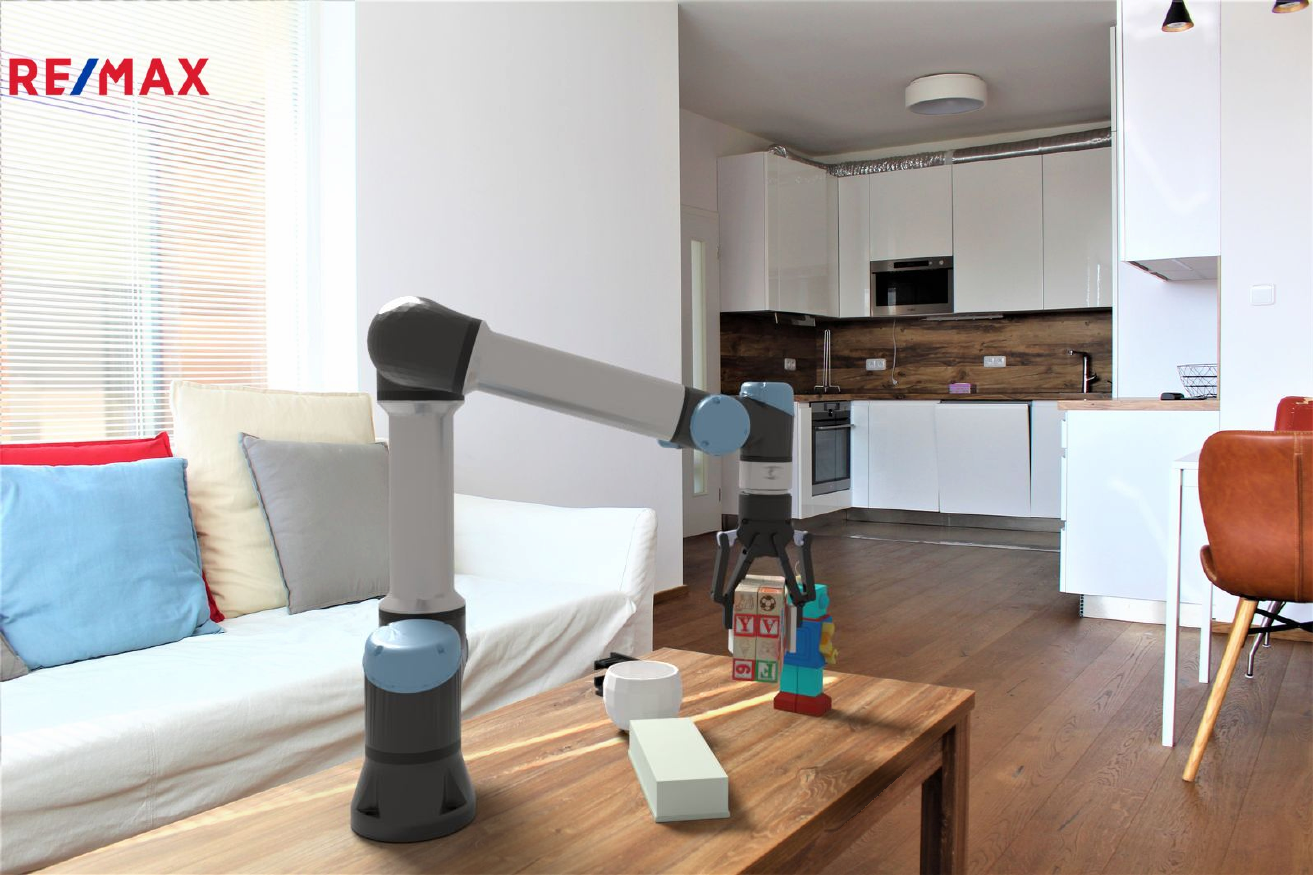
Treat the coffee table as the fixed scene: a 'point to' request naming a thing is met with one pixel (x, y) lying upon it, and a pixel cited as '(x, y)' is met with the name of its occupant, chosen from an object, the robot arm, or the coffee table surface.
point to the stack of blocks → (759, 628)
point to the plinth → (677, 770)
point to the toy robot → (808, 659)
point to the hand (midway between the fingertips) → (761, 650)
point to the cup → (641, 692)
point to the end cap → (606, 664)
